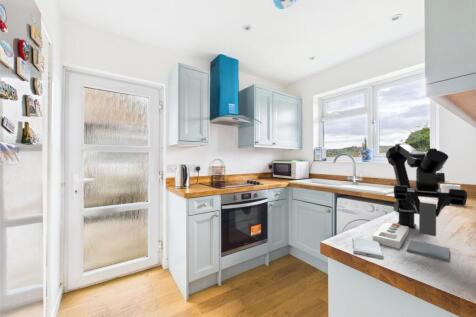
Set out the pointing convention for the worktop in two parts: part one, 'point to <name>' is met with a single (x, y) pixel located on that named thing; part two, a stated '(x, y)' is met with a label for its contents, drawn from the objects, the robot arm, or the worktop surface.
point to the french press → (439, 186)
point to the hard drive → (367, 247)
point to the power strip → (391, 235)
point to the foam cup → (448, 187)
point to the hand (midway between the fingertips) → (427, 214)
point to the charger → (427, 218)
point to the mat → (429, 250)
